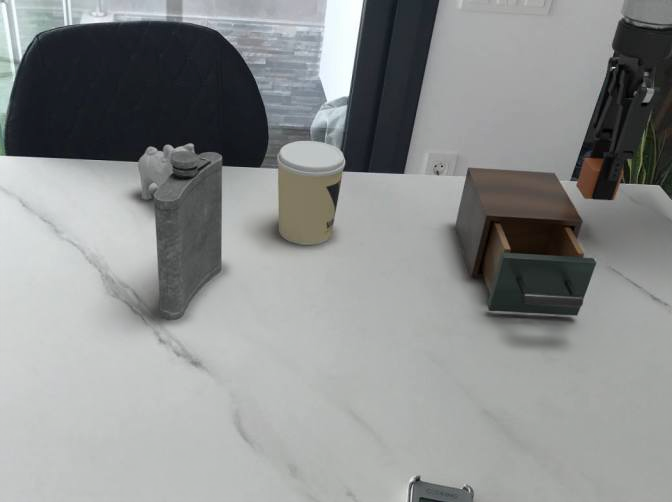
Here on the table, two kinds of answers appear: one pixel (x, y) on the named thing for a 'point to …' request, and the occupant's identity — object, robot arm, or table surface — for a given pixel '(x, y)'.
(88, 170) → the table surface
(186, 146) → the dog figurine
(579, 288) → the drawer
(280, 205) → the coffee cup
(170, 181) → the flask
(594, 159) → the block
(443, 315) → the table surface
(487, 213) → the cabinet
